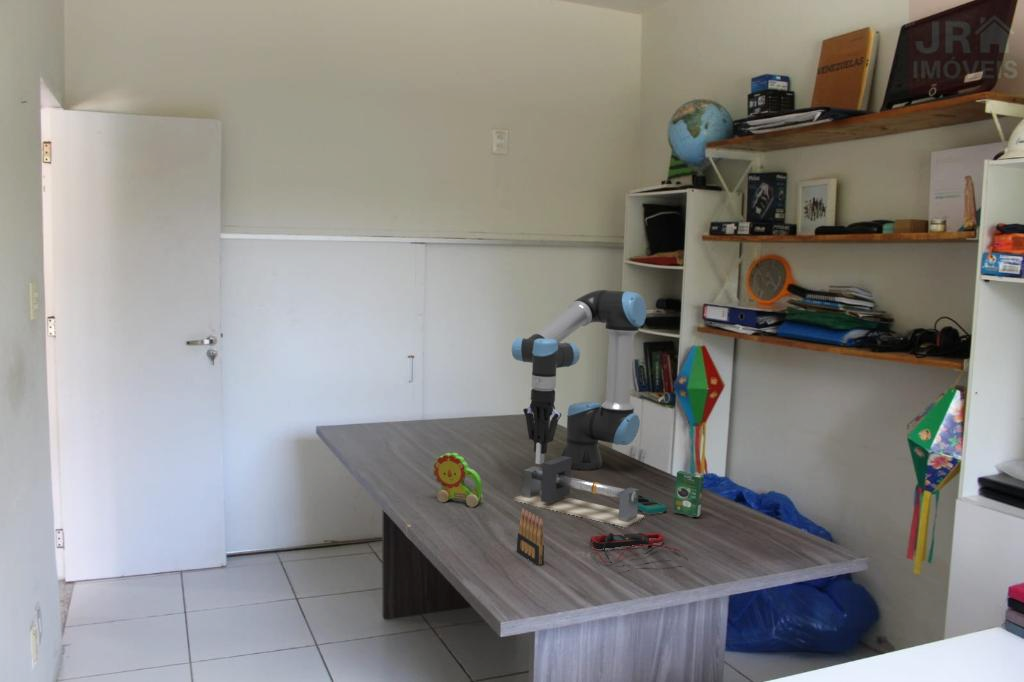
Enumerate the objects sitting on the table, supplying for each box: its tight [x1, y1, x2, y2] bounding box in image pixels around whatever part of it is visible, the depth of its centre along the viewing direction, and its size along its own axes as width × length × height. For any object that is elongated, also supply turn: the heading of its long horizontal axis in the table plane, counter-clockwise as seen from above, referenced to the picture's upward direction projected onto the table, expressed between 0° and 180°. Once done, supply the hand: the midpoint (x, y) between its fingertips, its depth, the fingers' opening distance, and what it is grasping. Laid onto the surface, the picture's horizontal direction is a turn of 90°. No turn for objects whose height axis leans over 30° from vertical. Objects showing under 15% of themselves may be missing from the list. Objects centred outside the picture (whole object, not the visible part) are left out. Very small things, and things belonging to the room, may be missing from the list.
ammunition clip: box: [516, 507, 545, 566], centre depth 217 cm, size 11×2×12 cm, turn 30°
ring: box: [541, 455, 572, 503], centre depth 262 cm, size 3×12×12 cm, turn 145°
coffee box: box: [673, 470, 705, 516], centre depth 257 cm, size 8×3×13 cm, turn 54°
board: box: [513, 490, 645, 527], centre depth 259 cm, size 39×12×1 cm, turn 55°
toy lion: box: [432, 452, 484, 508], centre depth 260 cm, size 16×5×15 cm, turn 68°
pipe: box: [521, 466, 640, 522], centre depth 258 cm, size 37×6×9 cm, turn 55°
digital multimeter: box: [637, 493, 667, 514], centre depth 264 cm, size 7×15×3 cm, turn 30°
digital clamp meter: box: [589, 532, 681, 564], centre depth 222 cm, size 23×4×25 cm
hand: (539, 463), depth 265 cm, fingers closed
